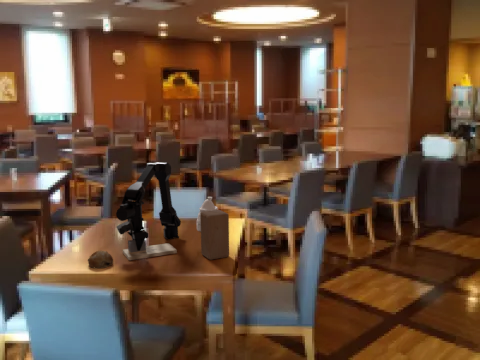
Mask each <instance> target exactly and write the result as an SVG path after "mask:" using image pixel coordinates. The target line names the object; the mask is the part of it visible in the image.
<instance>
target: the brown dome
mask: <svg viewBox="0 0 480 360" xmlns="http://www.w3.org/2000/svg"><path fill="white" fill-rule="evenodd" d="M87 262H88V263H87V264H88V266H89V267H90V268H91V269H105V268H106V269H107V267H110V266H111V265H113V264H114V259H113V256H112V255H111V254H110V253H109V252H108V251H107V250H106V251H105V250H96V251H94V252H93V253H91V254H90V255H89V258H87Z"/></svg>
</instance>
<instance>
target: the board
mask: <svg viewBox="0 0 480 360" xmlns="http://www.w3.org/2000/svg"><path fill="white" fill-rule="evenodd" d="M177 251H178V250H177V249H176V248H175V247H174V246H173V245H172V244H170V243H161V244H160V243H159V244H153V245H146V252H141V253H134V254H130V253H129V251H128V248H125V249H124V248H123V249H122V254H123V255H124V257H126V259H127V260H128V261H134V260H141V259H146V258H153V257H159V256H166V255H174V254H178V252H177Z"/></svg>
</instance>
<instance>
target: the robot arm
mask: <svg viewBox="0 0 480 360" xmlns="http://www.w3.org/2000/svg"><path fill="white" fill-rule="evenodd" d="M171 175H172V166H171V164H170V163H169V162H161V161H159V162H158V161H157V162H147V163H146V166H145V168H144V170H143V171H142V173H141V174H140V176H139V177H138V179H137V180H136V182H135V183H133V184H130V186H128V187H127V189H126V191H125V192H124V195H123V198H122V200H121V204H120V205H119V208H118V209H117V210H116V213H115V216H116V217H117V219H118V221H120V222H121V223H120V224H118V225H116V229H117V232H118V234H120V236H122V235H124V234H125V233H127V235H129V236H130V238H131V240H135V242H136V247H137V251H140V249H141V247H142V244H143V242H144V240H145V239H148V238H149V233H148V232H147V230H145V227H144V226H143V225H144V224H143V221H144V217H143V209H142V208H143V207H142V206H143V205H144V204H145V202H144V201H143V199H144V197H145V194H146V189H147V186H148V185H149V183H150V182H151V180H152V179H153V177H155V179H156V180H157V181H158V185H159V193H160V199H161V200H160V201H161V210H160V212H159V213H158V215H159V216H158V217H159V221H160V224H161V227H163V226H164V228H163V237H164V238H165V239H166V240H173V239H179V238H180V236H179V227H180V226H181V223H182V221H181V219H180V218H179V216H178V214H177V211H176V209H175V208H174V206H173V202H172V194H171V188H170V187H171V186H170V177H171ZM124 221H125V222H124ZM145 241H146V240H145Z"/></svg>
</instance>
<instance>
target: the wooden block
mask: <svg viewBox="0 0 480 360" xmlns="http://www.w3.org/2000/svg"><path fill="white" fill-rule="evenodd" d="M200 216H201V232H200V243H201V245H200V248H201V249H200V251H201V252H200V253H201V255H202V256H203V257H205V258H206V259H208V260H211V261H212V260H217V259H222V258H228V257H230V222H229V219H230V218H229V213H228V212H225V211H223V210H221V209H217V210H212V211H204V212H201V213H200Z"/></svg>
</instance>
